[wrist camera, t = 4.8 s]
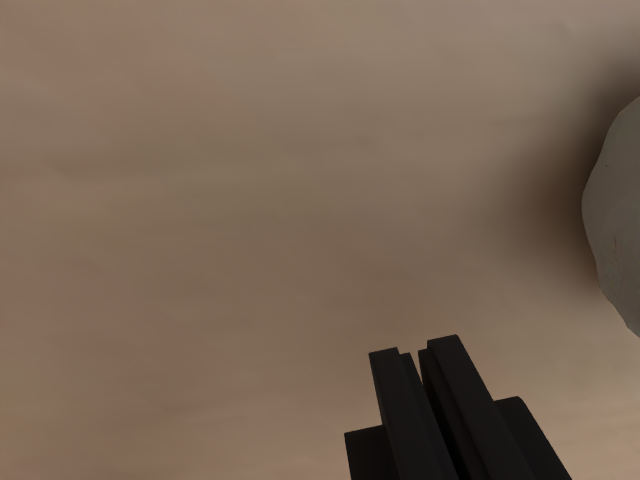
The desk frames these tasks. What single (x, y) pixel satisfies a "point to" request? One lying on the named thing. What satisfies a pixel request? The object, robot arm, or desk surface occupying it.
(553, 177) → the desk surface
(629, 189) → the ceramic sculpture
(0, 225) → the desk surface
